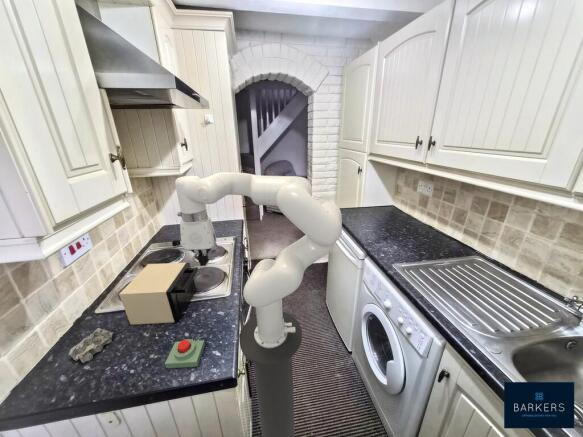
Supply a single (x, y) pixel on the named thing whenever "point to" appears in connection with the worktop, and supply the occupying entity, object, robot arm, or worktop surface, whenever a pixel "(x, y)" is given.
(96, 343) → the egg carton
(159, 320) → the oven
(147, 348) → the worktop surface
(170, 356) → the control block
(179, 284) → the oven door
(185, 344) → the button
